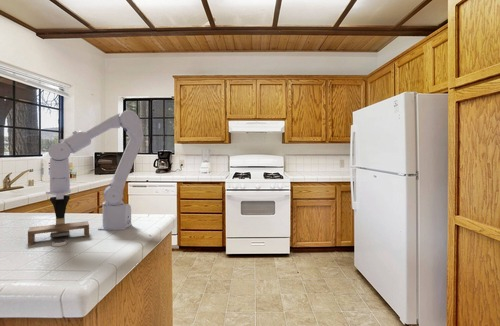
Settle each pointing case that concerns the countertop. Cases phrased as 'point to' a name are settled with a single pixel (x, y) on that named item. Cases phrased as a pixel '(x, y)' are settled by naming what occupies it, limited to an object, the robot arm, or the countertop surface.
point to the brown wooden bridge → (57, 229)
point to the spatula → (59, 233)
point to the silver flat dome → (59, 243)
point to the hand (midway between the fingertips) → (60, 217)
